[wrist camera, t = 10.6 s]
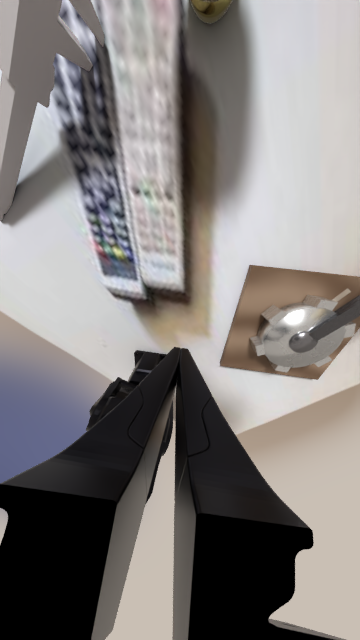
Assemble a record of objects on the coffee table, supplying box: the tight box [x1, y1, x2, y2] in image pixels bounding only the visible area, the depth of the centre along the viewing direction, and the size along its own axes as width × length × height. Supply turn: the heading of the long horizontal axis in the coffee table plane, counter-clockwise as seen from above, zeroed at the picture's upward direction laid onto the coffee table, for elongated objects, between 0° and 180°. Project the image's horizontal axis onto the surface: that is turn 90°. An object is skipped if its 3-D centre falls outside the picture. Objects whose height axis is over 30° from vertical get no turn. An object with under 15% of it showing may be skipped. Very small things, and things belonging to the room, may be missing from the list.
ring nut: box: [250, 295, 360, 372], centre depth 15 cm, size 18×11×6 cm, turn 141°
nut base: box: [220, 265, 360, 380], centre depth 19 cm, size 16×16×1 cm
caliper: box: [0, 0, 104, 221], centre depth 11 cm, size 20×1×6 cm, turn 123°
